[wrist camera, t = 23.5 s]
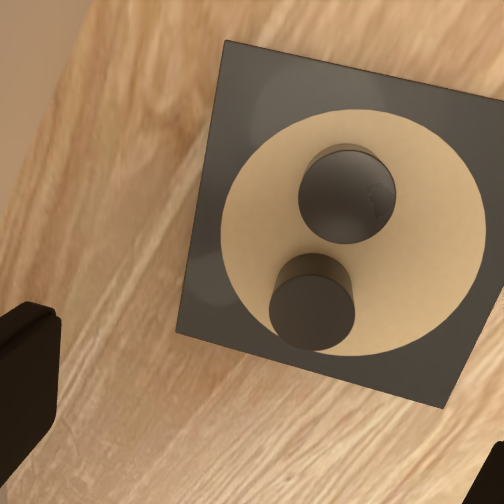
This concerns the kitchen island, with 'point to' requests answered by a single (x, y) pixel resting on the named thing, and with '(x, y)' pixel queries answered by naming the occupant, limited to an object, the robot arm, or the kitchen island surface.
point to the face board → (358, 254)
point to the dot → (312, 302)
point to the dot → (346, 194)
